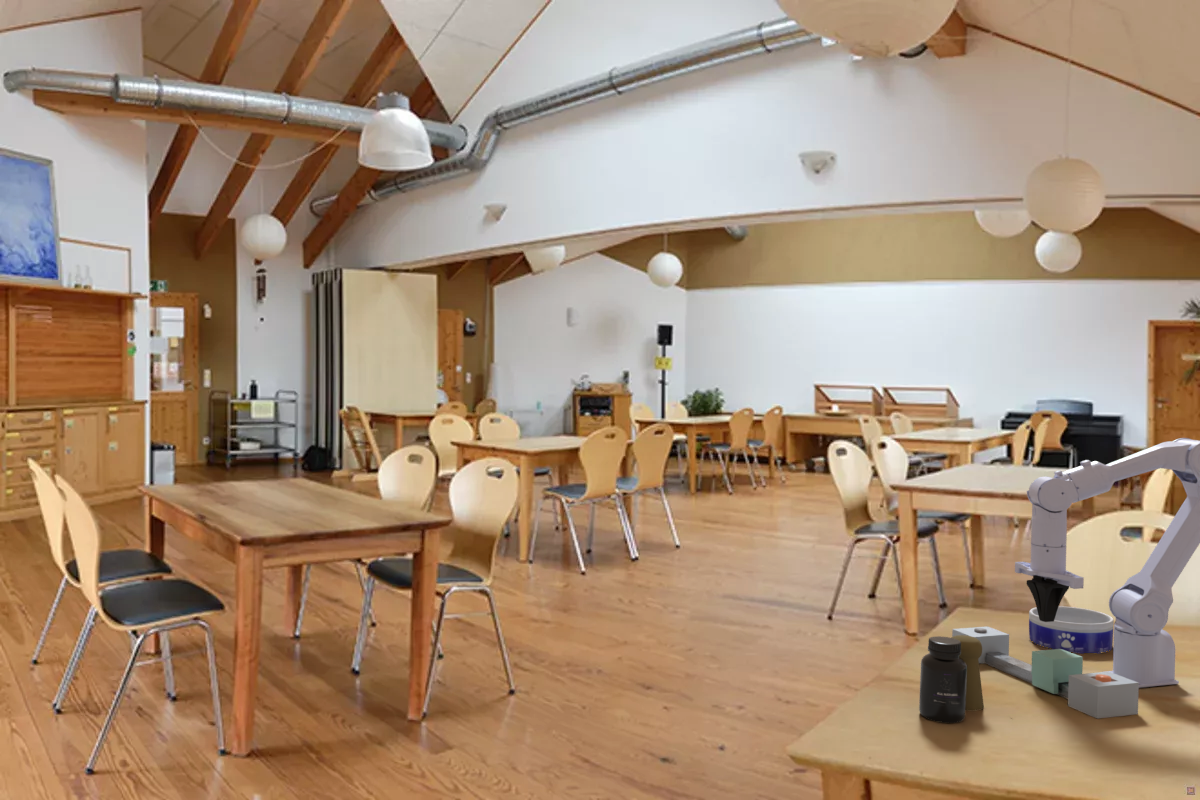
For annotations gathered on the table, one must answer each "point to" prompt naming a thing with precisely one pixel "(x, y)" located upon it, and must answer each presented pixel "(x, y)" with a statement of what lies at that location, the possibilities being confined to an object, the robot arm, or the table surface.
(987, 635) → the far cabinet
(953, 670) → the supplement bottle
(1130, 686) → the end cabinet
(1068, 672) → the block
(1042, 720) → the table surface
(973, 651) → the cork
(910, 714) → the table surface
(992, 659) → the rail
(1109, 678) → the orange rounded knob
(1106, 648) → the dog bowl
